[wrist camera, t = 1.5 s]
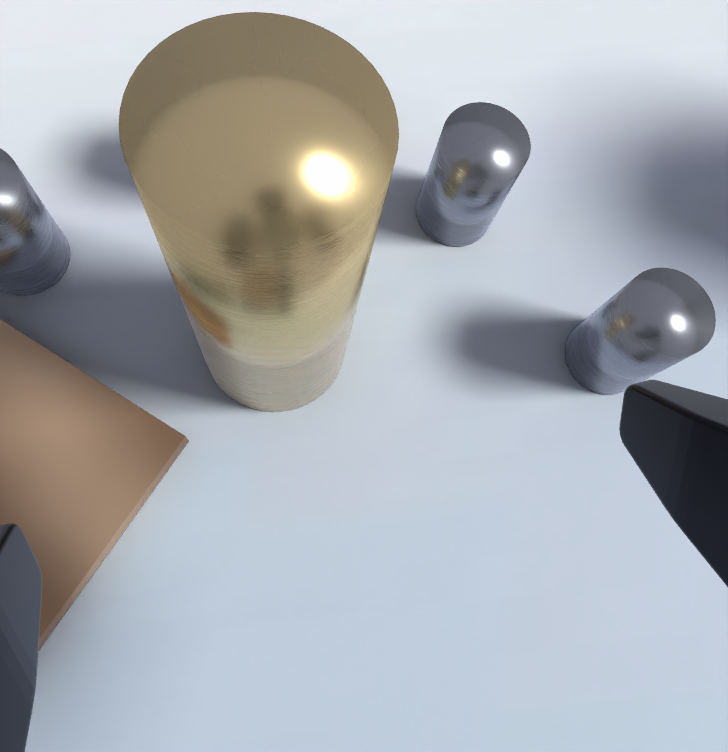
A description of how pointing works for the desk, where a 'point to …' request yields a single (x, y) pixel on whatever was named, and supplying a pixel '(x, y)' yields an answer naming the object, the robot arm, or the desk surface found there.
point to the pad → (71, 465)
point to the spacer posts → (450, 227)
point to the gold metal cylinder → (262, 192)
